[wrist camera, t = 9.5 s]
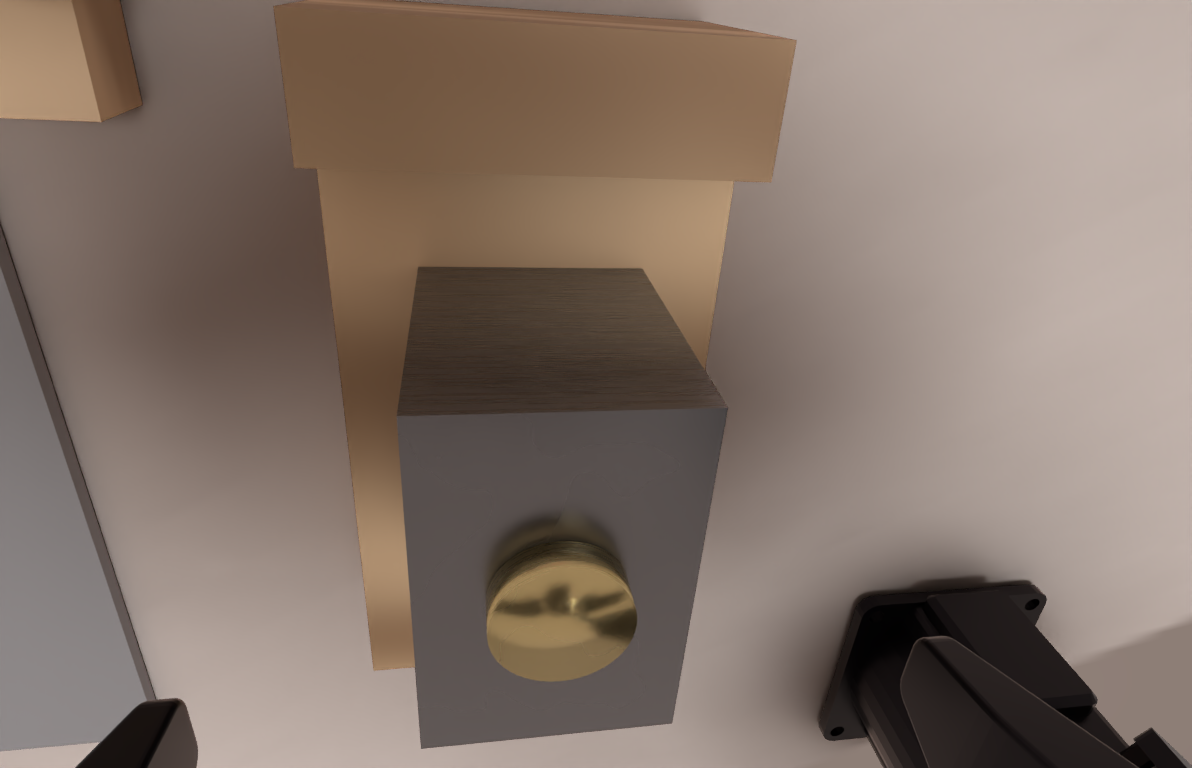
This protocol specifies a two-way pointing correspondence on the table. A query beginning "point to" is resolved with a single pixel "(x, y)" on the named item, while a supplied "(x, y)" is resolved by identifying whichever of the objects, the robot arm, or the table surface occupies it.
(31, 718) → the felt pad
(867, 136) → the table surface
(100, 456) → the table surface
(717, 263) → the body
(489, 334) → the grey knobbed drawer
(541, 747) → the table surface
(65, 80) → the lever mount
